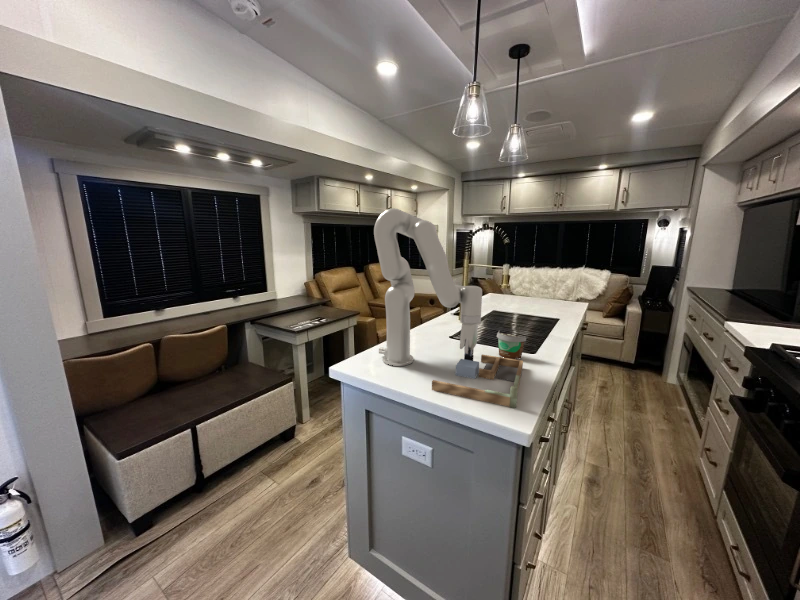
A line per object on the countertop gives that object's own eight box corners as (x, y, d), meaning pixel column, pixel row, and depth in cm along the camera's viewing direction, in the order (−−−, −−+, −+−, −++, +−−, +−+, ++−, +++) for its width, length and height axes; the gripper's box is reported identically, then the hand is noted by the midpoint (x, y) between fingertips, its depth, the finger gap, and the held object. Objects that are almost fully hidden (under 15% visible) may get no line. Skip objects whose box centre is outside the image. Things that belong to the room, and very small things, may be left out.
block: (455, 375, 112) (455, 365, 112) (460, 368, 118) (460, 358, 118) (474, 379, 109) (475, 368, 108) (478, 371, 115) (479, 361, 115)
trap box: (431, 390, 100) (431, 373, 99) (457, 357, 130) (458, 343, 128) (515, 408, 89) (517, 389, 88) (523, 368, 119) (524, 353, 117)
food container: (490, 355, 132) (491, 333, 130) (496, 351, 137) (498, 330, 135) (518, 362, 124) (520, 339, 122) (524, 358, 128) (526, 335, 126)
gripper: (465, 313, 124) (463, 356, 127) (455, 322, 111) (454, 370, 114) (484, 315, 121) (481, 359, 124) (476, 324, 107) (474, 373, 111)
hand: (468, 364), depth 119 cm, fingers closed
